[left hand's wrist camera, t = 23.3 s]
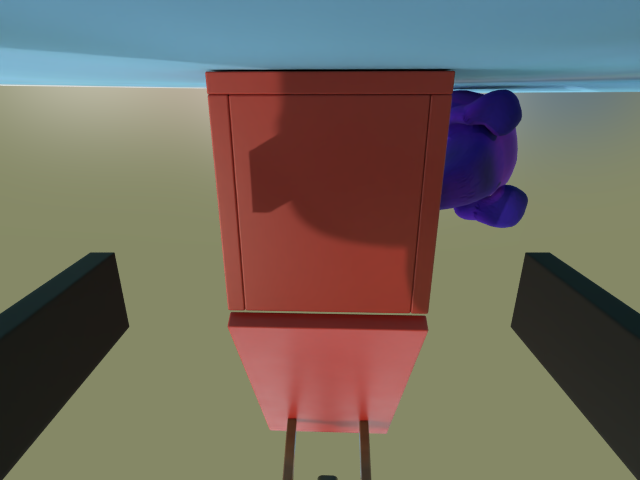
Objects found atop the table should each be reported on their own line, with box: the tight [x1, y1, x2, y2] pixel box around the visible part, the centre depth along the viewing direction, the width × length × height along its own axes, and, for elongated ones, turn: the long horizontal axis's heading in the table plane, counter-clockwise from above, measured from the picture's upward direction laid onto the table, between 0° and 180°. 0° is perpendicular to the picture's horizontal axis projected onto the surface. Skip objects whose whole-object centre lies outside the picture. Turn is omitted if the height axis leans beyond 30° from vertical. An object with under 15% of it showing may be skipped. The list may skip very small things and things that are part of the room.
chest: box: [205, 71, 455, 314], centre depth 25 cm, size 17×10×11 cm, turn 2°
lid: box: [228, 312, 428, 480], centre depth 24 cm, size 18×10×8 cm
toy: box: [440, 90, 528, 228], centre depth 51 cm, size 16×18×27 cm
